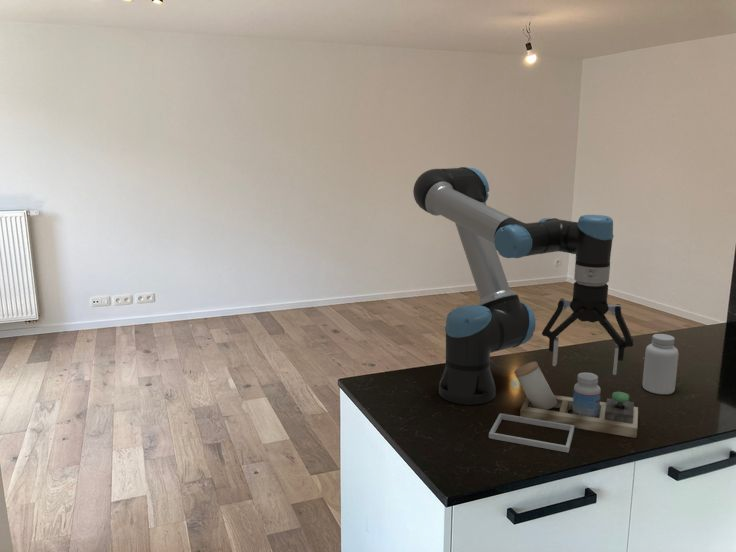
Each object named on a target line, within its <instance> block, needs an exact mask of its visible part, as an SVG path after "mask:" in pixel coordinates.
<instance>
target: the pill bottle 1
mask: <svg viewBox="0 0 736 552" xmlns="http://www.w3.org/2000/svg"><path fill="white" fill-rule="evenodd" d="M598 383H599V376H598V374H595V373H593V372H580V373H578V374H577V382H576V383H575V384H574V387H573V396H572V398H573V410H572V414H576V415H582V416H589V417H595V418H599V416H600V402H601V394H602V393H601V392H602V389H601V387H600V386H599V384H598Z"/></svg>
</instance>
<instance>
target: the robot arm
mask: <svg viewBox="0 0 736 552" xmlns="http://www.w3.org/2000/svg"><path fill="white" fill-rule="evenodd" d="M412 191H413V199H414V201H415V203H416V204H417V205H418V207H419V208H420V209H422V210H423V211H424V212H426V213H429V214H430V215H432V216H434V217H435V216H438V217H439V216H442V217H444V218H445V219H447V220H449V221H451V222H453V223H454V224H455V226H456V230H457V233H458V235H459V239H460V242H461V245H462V247H463V251H464V253H465V256H466V260H467V262H468V267H469V269H470V271H471V275H472V278H473V282H474V284H475V287H476V290H477V292H478V295H479V299H480V301H479V302H478V304H477V305H476V304H471V305H462V306H459V307H456V308H454V309H452V310H451V311H449V312H448V313H447V315H446V320H445V327H444V331H445V367H444V370H443V373H442V375H441V378H440V381H439V383H438V394H439V396H440V397H441V398H442V399H444V400H446V401H448V402H450V403H453V404H458V405H467V406H473V405H475V406H476V405H483V404H486V403H489V402H491V401H492V400H494V399H495V398H496V396H497V395H496V392H497V390H496V384H495V379H494V378H493V374H492V373H493V372H492V371H491V367H490V365H491V364H490V361H491V360H490V359H491V353H495V352H499V351H502V350H507V349H511V348H517V347H519V346H521V345H524V344H526V343H528V342H529V341H530V340H531V339H532V337H533V335H534V333H535V331H536V317H535V316H536V315H535V313H534V311H533V309H532V308H531V307H530V306H529V305H528V304H527V303H525V302H522V301H521V300H520V297H519V295H518V293H516V292H514V291H513V290H511V288H510V286H509V283H508V280H507V277H506V274H505V271H504V269H503V266H502V262H501V259H500V256H501V257H503V258H506V259H519V258H523V257H529V256H536V255H542V254H548V253H555V252H556V253H557V252H560V253H561V252H563V253H567V254H568V253H569V254H571V255H575V266H574V277H573V279H574V283H573V288H572V289H573V291H572V299H571V301H569V300H566V299H565V298H560V299H559V300H558V304H557V306H556V310H555V311H554V313H553V315H552V316H551V317H550V319H549V321H548V322H547V324H546V325H545V326H544V328H543V330H542V332H541V335H542V336H544V337H547V338H548V341H549V342H548V351H549V352H553V353H552V364H551V366H553V367H556V366H557V364H558V357H559V355H558V353H559V339H560V338H559V336H560V334H561V333H563V331H564V330H566V329H567V328H568V327H569V326H571V324H573V323H574V322H575V321H576V320H579V321H580V322H588V323H589V322H590V323H595V324H596V322H598V323H599V324H600V325H601V326H602V327H603V329H604V330H605V331H606V332H607V334H608V335H609V337H611V338H612V340H613V341H614V342H615V347H614V357H613V369H612V375H614V376H617V373H618V372H617V371H618V361H621V362H622V361H624V354H625V349H626V348H627V347H629V348H632V347H633V346H634V339H633V337H632V334H631V332H630V329H629V328H628V325H627V323H626V321H625V318H624V316H623V314H622V306H621V305H622V304H620V303H617V304H615V305H611V304H610V305H609V304H608V292H609V285H608V283H609V282H610V271H611V257H612V256H611V255H612V254H611V252H612V246H613V239H614V220H613V218H612V217H610V216H608V215H603V214H599V215H598V214H584V215H580V216H579V217H578V221H571V220H566V219H559V218H556V217H554V218H548V217H545V218H541V219H540V220H539V221H536V222H527V223H526V222H523V221H521V220H519V219H516V218H514V217H512V216H509V215H508V214H507V213H504V212H501V211H499V210H498V209H496V208H493V207H492V206H489V205H487V200H488V198H489V192H490V186H489V182H488V179H487V178H486V176H485V174H484V173H483V172H482V171H480V170H479V169H477V168H474V167H467V166H461V167H450V168H431V169H429V170H426V171H424V172H423V173H421V175H419V176H418V177H417V179H416V181H415V182H414V185H413V189H412ZM568 307H569V308H570V310H571V311H572V313H570V315H569V316H568V317H567V318H566V319H565V320H564V321H562V322H561V323H560V324H559V325H558V326H557V327H556V328H554V330H551V329H552V327H553V326H554V325H555V323H556V321H557V320H558V318H559V316H560V315H561V314H562V311H564V310H567V308H568ZM608 312H610V313H611V315H613V316H614V317H615V320H616V322H617V324H618V327H619V329H620V331H621V333H622V336H623V338H622V336H621V335H620V334H619V333H618V332H617V330H616V329H615V328H614V326H613V325H612V324H611V323H610V321H609V320H608V317H606V314H607V313H608Z"/></svg>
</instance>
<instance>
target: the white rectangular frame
mask: <svg viewBox="0 0 736 552" xmlns="http://www.w3.org/2000/svg"><path fill="white" fill-rule="evenodd" d="M502 420H504V421H510V422H515V423H521V424H528V425H534V426H539V427H546V428H550V429H551V428H552V429H556V430H557V429H558V430H562V431H568V432H569V433H568V436H567V439H566V440H567V441H566V443H565V445H564V444H559V443H553V442H547V441H544V440H543V441H542V440H537V439H530V438H525V437H518V436H516V435H515V436H514V435H509V434H508V435H507V434H503V433H497V429H498V428H499V426H500V424H501V422H502ZM574 433H575V428H574V425H569V424H563V423H557V422H550V421H544V420H538V419H532V418H526V417H520V415H519V416H518V415H513V414H507V413H501V412H500V413H498V416H497V418H496V419H495V422H494V423H493V425H492V427H491V428H490V430H489V432H488V439H492V440H497V441H503V442H506V443H507V442H508V443H513V444H519V445H525V446H529V447H530V446H531V447H536V448H541V449H542V448H543V449H546V450H553V451H557V452H563V453H569V452H570V448H571V444H572V442H573V441H572V440H573V436H574Z"/></svg>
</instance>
